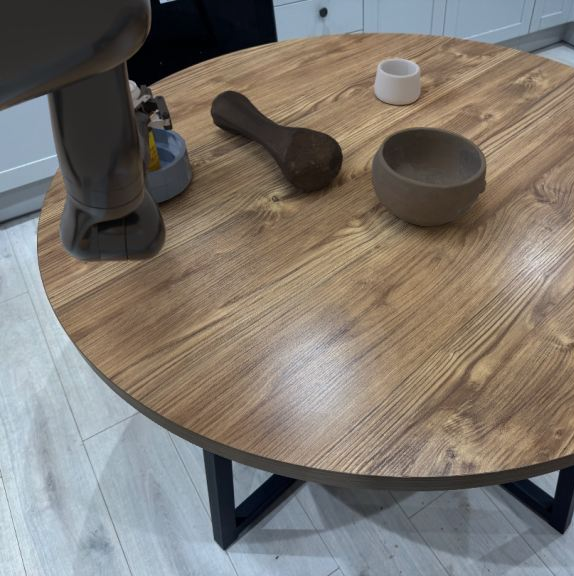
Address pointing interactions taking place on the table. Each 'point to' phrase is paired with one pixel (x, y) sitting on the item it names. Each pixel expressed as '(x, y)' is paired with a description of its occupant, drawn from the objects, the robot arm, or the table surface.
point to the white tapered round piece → (397, 81)
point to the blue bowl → (169, 165)
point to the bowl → (428, 175)
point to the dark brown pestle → (281, 142)
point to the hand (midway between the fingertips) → (120, 93)
